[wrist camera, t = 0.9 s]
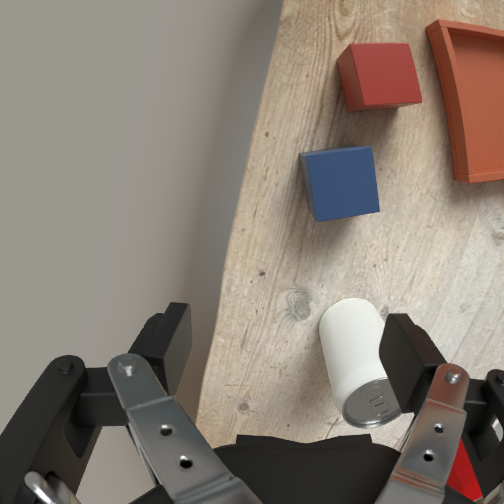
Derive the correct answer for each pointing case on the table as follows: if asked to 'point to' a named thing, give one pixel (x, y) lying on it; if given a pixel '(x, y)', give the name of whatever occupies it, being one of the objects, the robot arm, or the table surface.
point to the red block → (378, 76)
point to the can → (357, 363)
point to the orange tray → (472, 96)
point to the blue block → (340, 182)
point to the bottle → (464, 476)
